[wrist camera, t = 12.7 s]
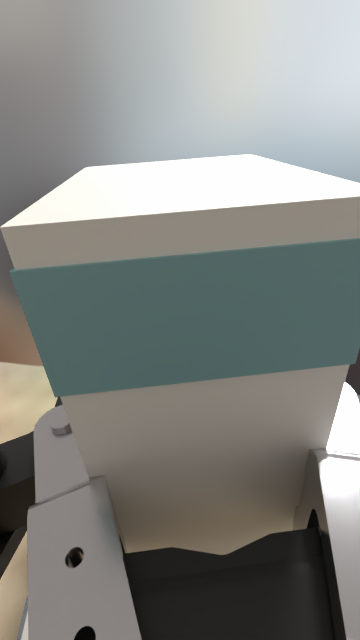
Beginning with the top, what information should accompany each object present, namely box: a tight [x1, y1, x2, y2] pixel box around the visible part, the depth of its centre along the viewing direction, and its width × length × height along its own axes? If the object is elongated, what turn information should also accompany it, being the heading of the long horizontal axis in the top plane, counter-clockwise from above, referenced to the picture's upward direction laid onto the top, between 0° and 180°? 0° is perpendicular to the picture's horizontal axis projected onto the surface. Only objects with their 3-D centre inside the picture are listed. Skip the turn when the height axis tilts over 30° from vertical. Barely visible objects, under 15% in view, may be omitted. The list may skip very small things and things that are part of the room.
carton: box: [0, 154, 360, 555], centre depth 10 cm, size 5×6×13 cm
